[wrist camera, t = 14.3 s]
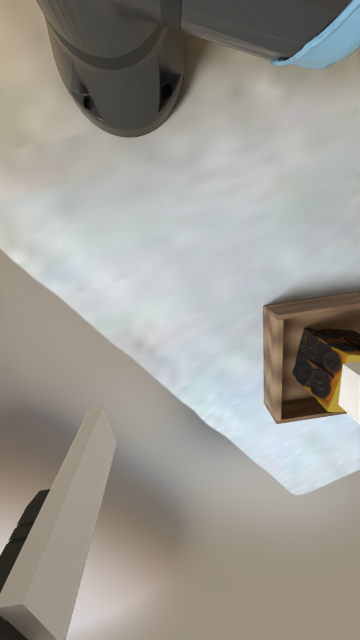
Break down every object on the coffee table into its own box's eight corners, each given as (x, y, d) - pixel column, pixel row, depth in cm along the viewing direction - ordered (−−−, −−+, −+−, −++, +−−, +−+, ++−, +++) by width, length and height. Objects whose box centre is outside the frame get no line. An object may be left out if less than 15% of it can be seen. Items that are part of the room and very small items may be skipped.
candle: (302, 326, 38) (346, 353, 29) (355, 329, 39) (415, 355, 29) (289, 375, 41) (325, 413, 32) (338, 376, 42) (387, 413, 33)
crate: (263, 306, 37) (278, 315, 32) (382, 288, 38) (417, 294, 32) (264, 403, 45) (276, 424, 39) (364, 388, 45) (390, 406, 40)
